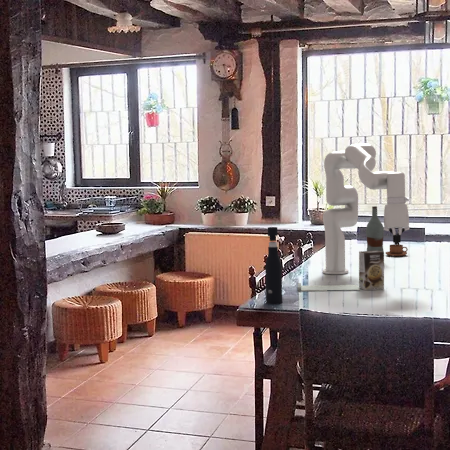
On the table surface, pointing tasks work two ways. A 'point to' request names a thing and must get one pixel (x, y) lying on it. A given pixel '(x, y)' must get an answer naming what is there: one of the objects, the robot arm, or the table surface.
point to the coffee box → (371, 270)
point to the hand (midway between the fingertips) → (396, 244)
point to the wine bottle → (273, 270)
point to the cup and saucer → (396, 250)
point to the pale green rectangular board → (327, 287)
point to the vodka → (374, 232)
